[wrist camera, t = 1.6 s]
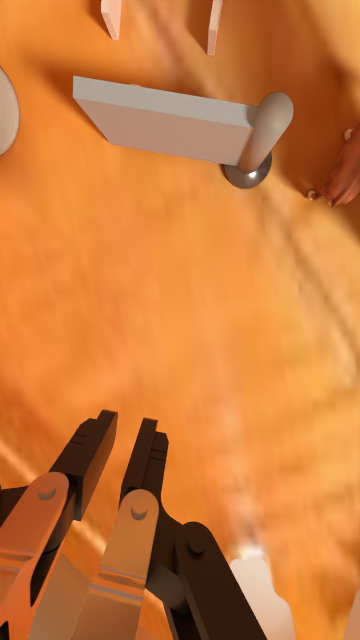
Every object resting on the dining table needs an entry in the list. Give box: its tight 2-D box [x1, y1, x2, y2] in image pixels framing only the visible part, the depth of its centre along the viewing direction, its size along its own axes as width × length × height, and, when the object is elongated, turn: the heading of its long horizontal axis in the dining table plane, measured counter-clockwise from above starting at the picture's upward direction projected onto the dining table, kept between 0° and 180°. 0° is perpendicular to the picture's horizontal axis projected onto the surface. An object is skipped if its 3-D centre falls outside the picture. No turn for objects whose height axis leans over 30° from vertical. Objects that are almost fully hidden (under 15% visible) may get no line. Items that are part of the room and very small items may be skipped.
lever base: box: [224, 150, 272, 189], centre depth 31 cm, size 6×6×1 cm
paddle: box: [73, 76, 293, 174], centre depth 25 cm, size 20×3×11 cm, turn 80°
